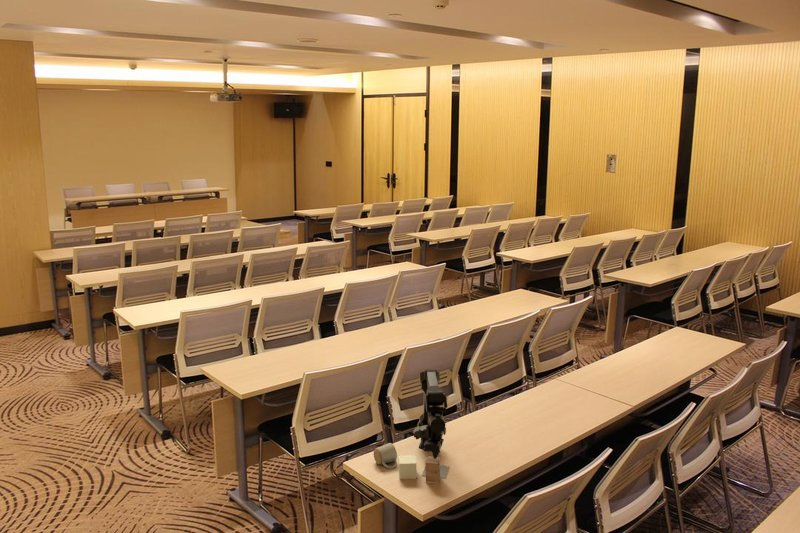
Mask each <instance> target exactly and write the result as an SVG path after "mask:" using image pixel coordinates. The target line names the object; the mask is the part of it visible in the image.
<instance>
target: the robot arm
mask: <svg viewBox="0 0 800 533" xmlns="http://www.w3.org/2000/svg"><path fill="white" fill-rule="evenodd" d="M418 377H419V378H418V383H419V384H420V390H422V391H423V406H422V409H423V410H422V414H421V415H420V416H419V421H417V427H415V428H414V429H413V431H412V432H413V438H415V440H419V439H420V443H419V445H418V449H423V451H424V452H429V453H431V454H432V457H433V458H434V459H436V458H437V457H438V456H439V454H440V451H441V449H442V446H443V443H444V439H445V438H443V436H445V435H446V433H447V427H446V421H445V419H444V417H445V416H443V413H446V412H447V409H448V401H447V395H446V394H445V393H444V391H443V388H441V386H440V387H439V383H440V381H441V380H440V372H438V370H437V369H435V368H431V369H430V368H429V369H425V370H424V371H422V372H419V375H418Z"/></svg>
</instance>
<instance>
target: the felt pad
mask: <svg viewBox="0 0 800 533" xmlns="http://www.w3.org/2000/svg"><path fill="white" fill-rule="evenodd" d="M449 469H450V466H448V465H440V478H439V479H444V480H445V479H446V478H447V475H448V473H449ZM421 476H422V477H426V473H425V468H424V470H423V471H422V474H421Z"/></svg>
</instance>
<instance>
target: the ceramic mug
mask: <svg viewBox="0 0 800 533" xmlns="http://www.w3.org/2000/svg"><path fill="white" fill-rule="evenodd" d="M373 458H374V460H375V463H376V464H377V465H383V466H384V467H385V468H386V469H389V470H390V469H391V470H392V469H394V468H395V467H396V466H397V459H398V453H397V449H396V447H395V445H394V444H393V443H392V442H389V443H386V444H384V445H381V446H378V447H375V449H374V450H373ZM392 462H394V465H388V463H392Z"/></svg>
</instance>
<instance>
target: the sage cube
mask: <svg viewBox="0 0 800 533" xmlns="http://www.w3.org/2000/svg"><path fill="white" fill-rule="evenodd" d="M398 477H399V480H407V479H408V480H410V479H412V480H415V479H417V457H416V454H411V455H410V454H408V455H407V454H406V455H403V454H402V455H398Z"/></svg>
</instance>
